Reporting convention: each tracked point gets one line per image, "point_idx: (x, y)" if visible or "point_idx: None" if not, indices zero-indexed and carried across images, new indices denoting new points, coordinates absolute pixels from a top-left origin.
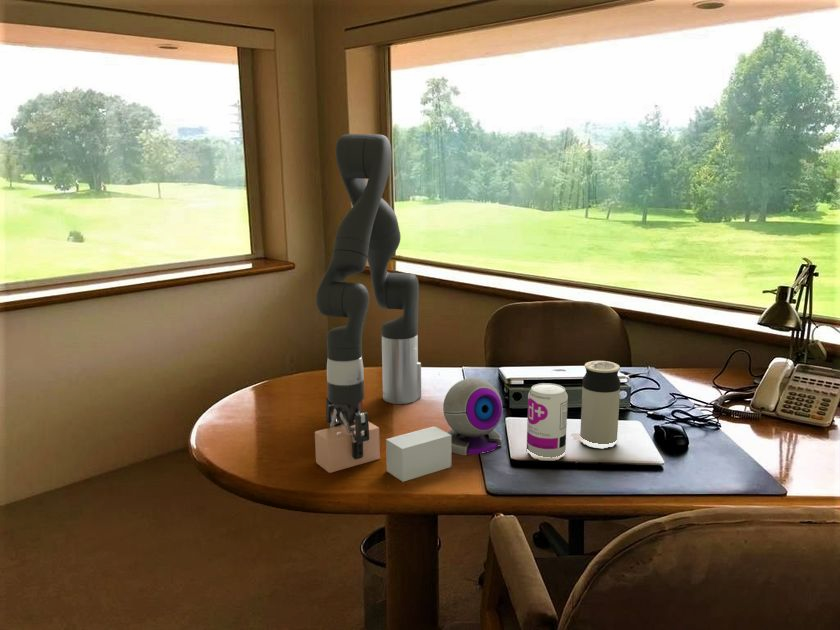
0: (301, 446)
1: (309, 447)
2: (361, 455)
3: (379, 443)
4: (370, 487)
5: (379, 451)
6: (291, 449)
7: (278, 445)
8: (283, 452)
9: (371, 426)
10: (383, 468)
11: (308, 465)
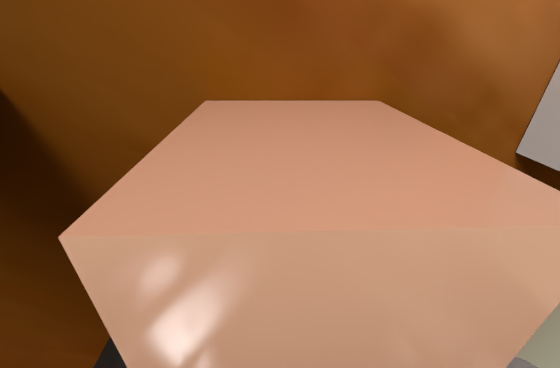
0: (48, 311)
1: (69, 295)
2: None
3: (437, 130)
4: None
5: (400, 113)
6: (71, 338)
7: (16, 355)
8: (92, 358)
9: (455, 285)
10: (480, 148)
11: None
